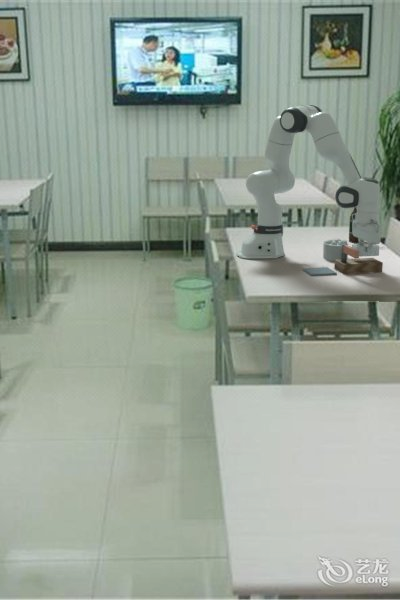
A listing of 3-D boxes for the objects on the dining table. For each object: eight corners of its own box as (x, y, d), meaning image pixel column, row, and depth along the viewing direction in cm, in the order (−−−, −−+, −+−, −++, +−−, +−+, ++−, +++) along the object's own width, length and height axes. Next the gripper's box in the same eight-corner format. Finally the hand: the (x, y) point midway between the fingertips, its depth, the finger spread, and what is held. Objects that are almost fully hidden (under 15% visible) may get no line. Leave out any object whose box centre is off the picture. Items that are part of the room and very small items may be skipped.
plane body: (343, 274, 283) (343, 264, 282) (334, 268, 292) (334, 259, 291) (382, 272, 286) (382, 262, 285) (372, 266, 295) (372, 257, 294)
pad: (311, 276, 280) (311, 274, 280) (302, 270, 290) (302, 268, 290) (336, 274, 282) (336, 272, 282) (327, 268, 292) (327, 267, 292)
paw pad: (344, 255, 318) (344, 237, 316) (350, 261, 306) (351, 242, 303) (321, 256, 318) (322, 237, 316) (326, 262, 306) (327, 242, 303)
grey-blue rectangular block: (355, 256, 285) (356, 247, 284) (351, 254, 290) (351, 244, 289) (378, 255, 286) (379, 246, 285) (373, 253, 291) (374, 243, 290)
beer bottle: (352, 239, 357) (355, 192, 351) (366, 241, 353) (369, 193, 346) (345, 241, 352) (347, 194, 345) (359, 243, 347) (362, 195, 340)
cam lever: (339, 260, 288) (340, 243, 286) (345, 260, 288) (346, 243, 286) (353, 268, 274) (354, 250, 272) (359, 268, 274) (360, 250, 272)
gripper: (385, 221, 275) (383, 255, 278) (364, 213, 294) (362, 245, 298) (371, 222, 273) (368, 256, 277) (350, 214, 293) (348, 246, 296)
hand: (365, 250), depth 288 cm, fingers closed on grey-blue rectangular block, 5 cm apart
